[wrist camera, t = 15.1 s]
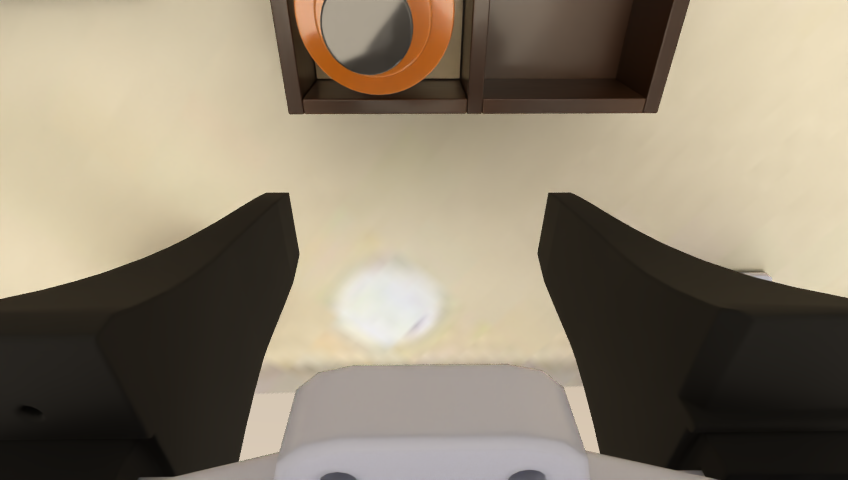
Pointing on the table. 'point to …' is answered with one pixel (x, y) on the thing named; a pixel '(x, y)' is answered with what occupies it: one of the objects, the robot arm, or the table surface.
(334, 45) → the amber bottle
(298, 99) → the holder
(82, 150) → the table surface
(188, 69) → the table surface
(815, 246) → the table surface
